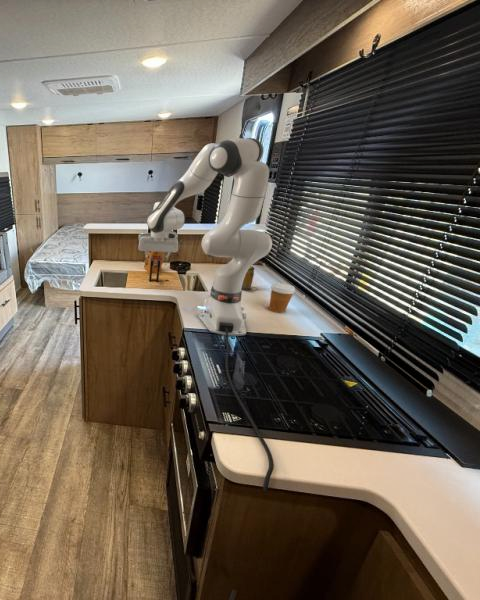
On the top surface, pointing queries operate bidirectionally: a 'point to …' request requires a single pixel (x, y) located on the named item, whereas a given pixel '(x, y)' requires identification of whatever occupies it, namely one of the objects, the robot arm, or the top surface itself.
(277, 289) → the disposable coffee cup
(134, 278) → the top surface
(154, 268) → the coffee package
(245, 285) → the condiment
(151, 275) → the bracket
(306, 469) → the top surface
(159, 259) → the lever
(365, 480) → the top surface
